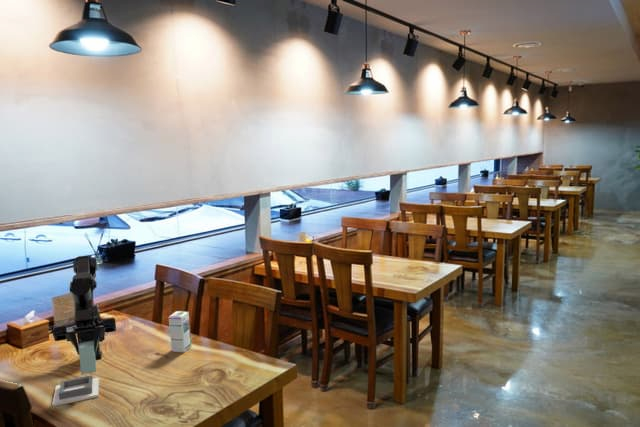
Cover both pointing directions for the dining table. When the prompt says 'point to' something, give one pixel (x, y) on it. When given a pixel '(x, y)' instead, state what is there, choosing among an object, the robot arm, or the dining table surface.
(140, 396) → the dining table surface
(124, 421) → the dining table surface
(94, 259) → the robot arm
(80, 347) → the teal green block
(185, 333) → the syrup box
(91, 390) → the white grey square base
